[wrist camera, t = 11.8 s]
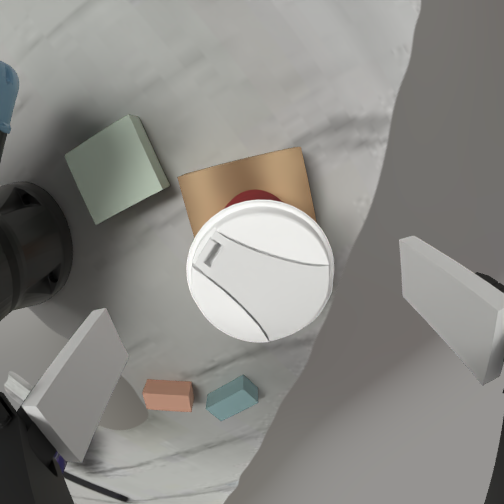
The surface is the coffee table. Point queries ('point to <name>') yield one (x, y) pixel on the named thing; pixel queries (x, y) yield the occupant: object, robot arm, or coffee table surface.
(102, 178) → the sage pad
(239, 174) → the oak block
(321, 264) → the paper cup
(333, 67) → the coffee table surface
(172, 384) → the brick
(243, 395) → the brick
